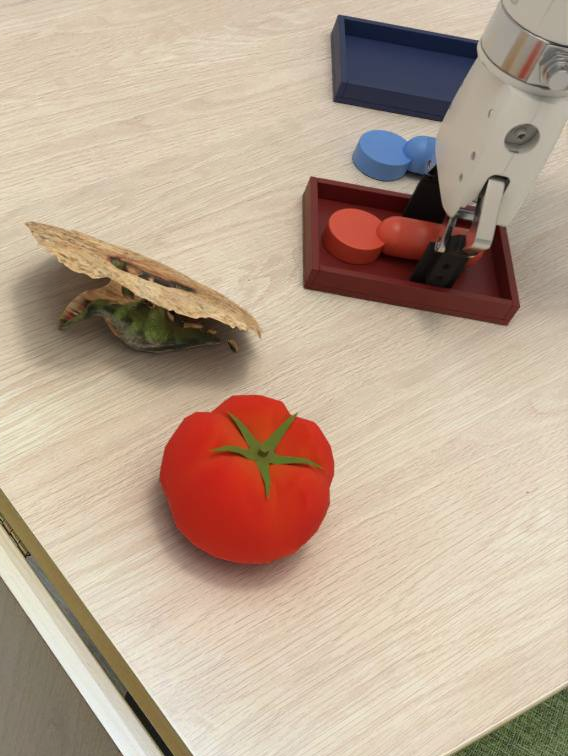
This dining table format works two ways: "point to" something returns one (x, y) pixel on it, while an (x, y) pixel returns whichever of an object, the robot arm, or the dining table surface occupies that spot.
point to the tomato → (248, 479)
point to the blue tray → (398, 67)
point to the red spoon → (380, 237)
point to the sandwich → (140, 295)
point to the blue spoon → (392, 154)
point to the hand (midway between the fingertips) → (424, 252)
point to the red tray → (402, 260)
